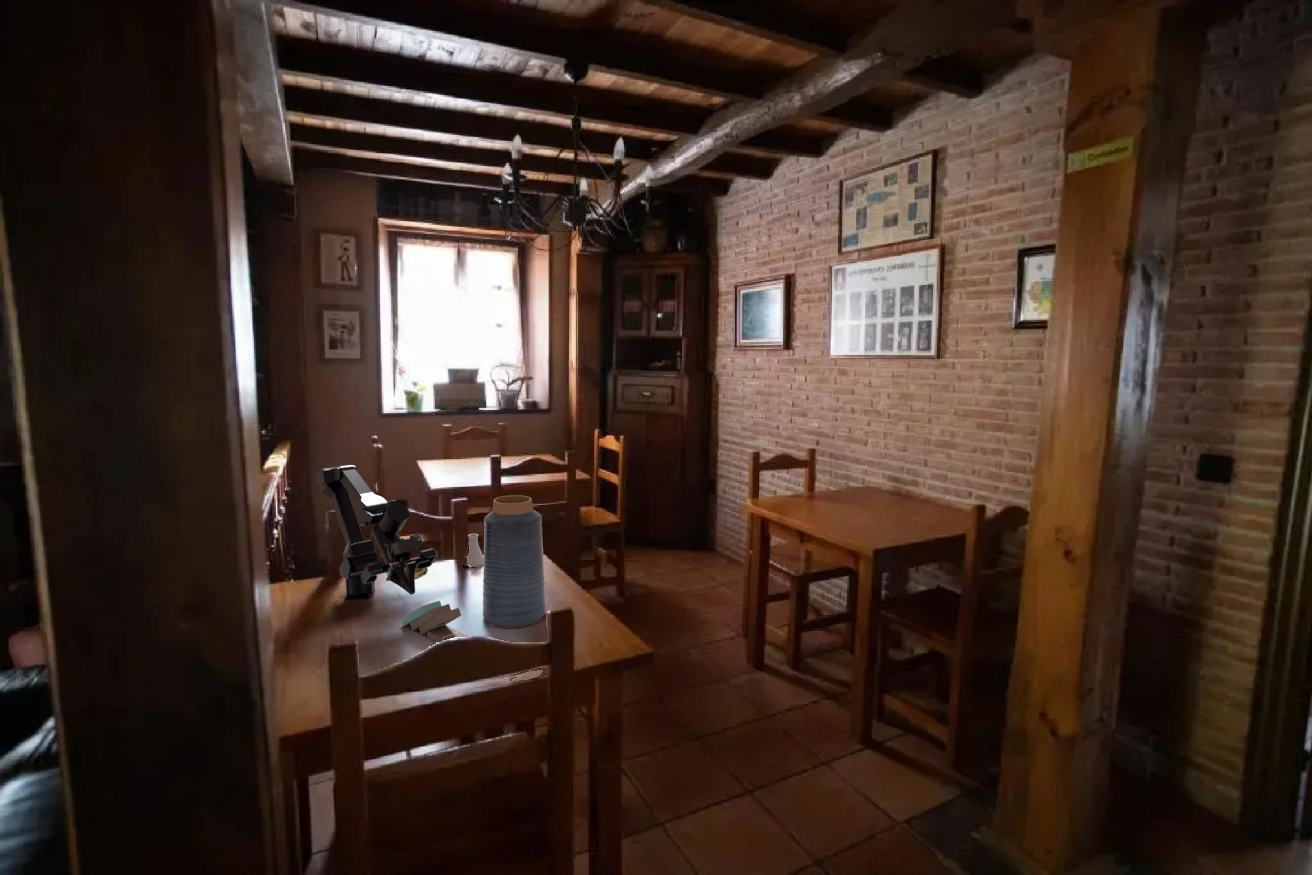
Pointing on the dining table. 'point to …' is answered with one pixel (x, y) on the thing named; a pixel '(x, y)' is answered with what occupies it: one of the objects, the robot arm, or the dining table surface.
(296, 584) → the dining table surface
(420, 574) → the seal
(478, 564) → the flask
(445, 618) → the domino
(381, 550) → the robot arm
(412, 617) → the teal domino
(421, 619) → the domino
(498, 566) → the vase
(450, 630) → the domino
